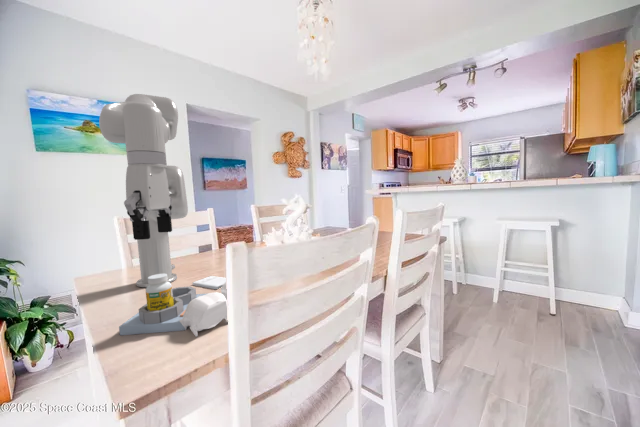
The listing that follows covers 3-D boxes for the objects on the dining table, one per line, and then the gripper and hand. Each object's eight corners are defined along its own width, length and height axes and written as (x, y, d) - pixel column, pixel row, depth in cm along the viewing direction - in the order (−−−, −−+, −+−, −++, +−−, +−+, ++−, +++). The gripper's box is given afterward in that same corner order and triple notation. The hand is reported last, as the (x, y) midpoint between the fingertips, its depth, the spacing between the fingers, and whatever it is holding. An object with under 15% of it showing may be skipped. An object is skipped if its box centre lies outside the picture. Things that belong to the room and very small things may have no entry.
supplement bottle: (174, 308, 67) (170, 271, 66) (174, 316, 62) (170, 276, 62) (149, 313, 64) (145, 275, 64) (147, 322, 60) (143, 281, 59)
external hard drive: (218, 291, 85) (192, 286, 91) (237, 283, 92) (212, 279, 98) (217, 286, 85) (192, 282, 91) (236, 278, 92) (212, 274, 98)
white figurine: (206, 350, 57) (257, 302, 67) (188, 321, 54) (245, 276, 64) (187, 337, 62) (237, 295, 73) (170, 310, 59) (225, 270, 70)
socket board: (160, 303, 76) (159, 288, 75) (210, 300, 77) (209, 284, 76) (119, 335, 59) (117, 315, 58) (185, 330, 60) (183, 310, 59)
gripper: (151, 165, 69) (157, 230, 71) (102, 157, 52) (111, 243, 53) (181, 164, 70) (186, 229, 71) (142, 156, 52) (150, 241, 54)
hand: (154, 235), depth 62 cm, fingers open, 9 cm apart
